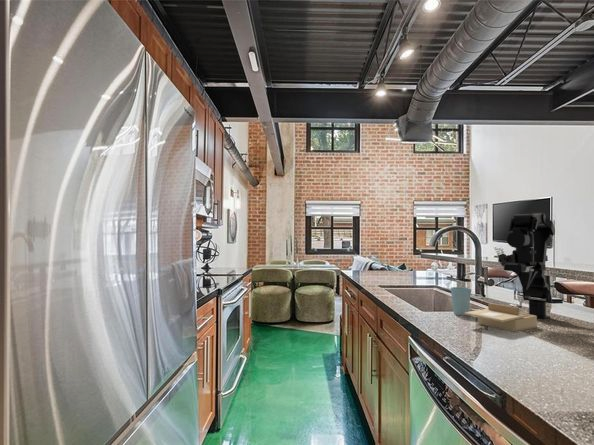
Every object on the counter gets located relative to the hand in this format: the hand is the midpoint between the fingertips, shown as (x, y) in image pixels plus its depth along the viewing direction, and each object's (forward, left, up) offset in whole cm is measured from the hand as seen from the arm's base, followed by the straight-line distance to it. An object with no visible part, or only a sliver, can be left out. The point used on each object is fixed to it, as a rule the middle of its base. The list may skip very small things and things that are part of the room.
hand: (525, 289), depth 131 cm
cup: (+7, -21, -12) cm, 25 cm away
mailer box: (+11, -1, -12) cm, 16 cm away
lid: (+19, -1, -8) cm, 20 cm away
